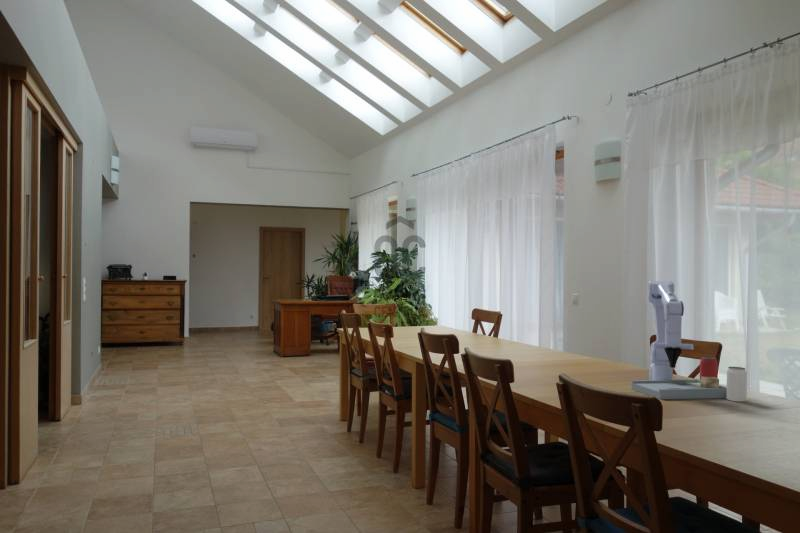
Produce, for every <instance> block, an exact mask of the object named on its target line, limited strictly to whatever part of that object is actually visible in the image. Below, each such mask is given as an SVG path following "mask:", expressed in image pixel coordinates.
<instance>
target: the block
mask: <svg viewBox="0 0 800 533" xmlns="http://www.w3.org/2000/svg"><path fill="white" fill-rule="evenodd" d="M719 386H720V379H719V378H718V379H717V378H715V377H701V387H702V388H719Z"/></svg>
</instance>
